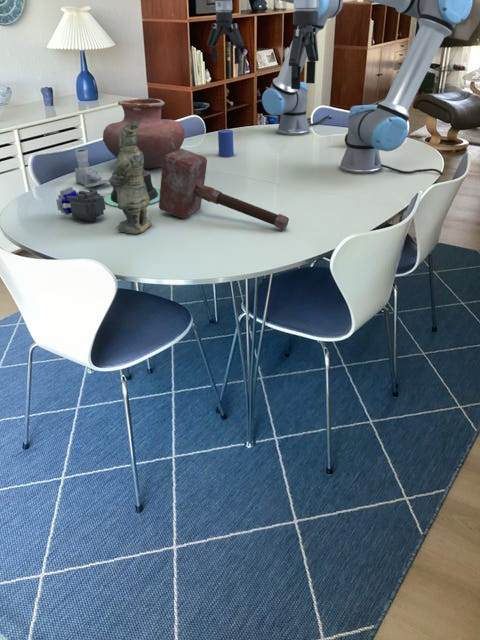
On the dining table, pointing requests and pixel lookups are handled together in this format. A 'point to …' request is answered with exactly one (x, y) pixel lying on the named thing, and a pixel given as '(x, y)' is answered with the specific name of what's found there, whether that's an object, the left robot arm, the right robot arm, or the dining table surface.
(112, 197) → the chocolate cake
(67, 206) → the toy
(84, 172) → the grey l-shaped piece
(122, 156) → the statue
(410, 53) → the right robot arm
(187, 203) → the sledgehammer
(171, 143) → the clay pot
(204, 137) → the dining table surface
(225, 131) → the canister
